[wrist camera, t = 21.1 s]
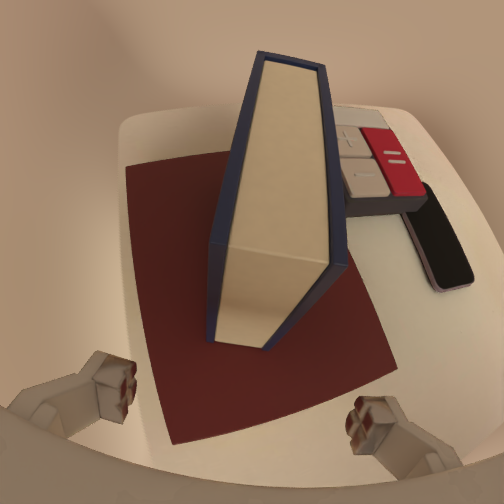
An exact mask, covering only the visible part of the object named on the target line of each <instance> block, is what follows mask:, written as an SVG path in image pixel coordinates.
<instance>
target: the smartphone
mask: <svg viewBox="0 0 504 504" xmlns="http://www.w3.org/2000/svg"><path fill="white" fill-rule="evenodd" d="M422 184H423V186H424V188H425V190H426V194H427V196H428V199H427V201H426V202H425V203H424V204H423V205H422V206H421V207H420V208H419V210H418V211H416V212H404V213H403V214H401V215H402V217H403V219H404V221H405V223H406V226H407V228H408V230H409V232H410V234H411V237H412V239H413V241H414V243H415V246H416V248H417V250H418V252H419V255H420V257H421V260H422V262H423V264H424V267H425V269H426V272H427V274H428V277H429V280H430V282H431V285H432V287H433V288H434V289H435V290H436V291H437V292H440V293H442V292H447V291H451V290H455V289H459V288H463V287H467V286H470V285H471V284H472V283H473V282H474V279H475V278H474V274H473V271H472V269H471V267H470V264H469V262H468V260H467V258H466V255H465V253H464V251H463V249H462V247H461V244H460V242H459V240H458V238H457V236H456V234H455V232H454V230H453V228H452V226H451V224H450V222H449V220H448V218H447V216H446V214H445V213H444V211H443V209H442V207H441V205H440V203H439V202H438V200H437V198H436V196H435V194H434V193H433V191H432V189H431V188H430V186H429V185H428V184H426V183H425V182H422Z"/></svg>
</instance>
